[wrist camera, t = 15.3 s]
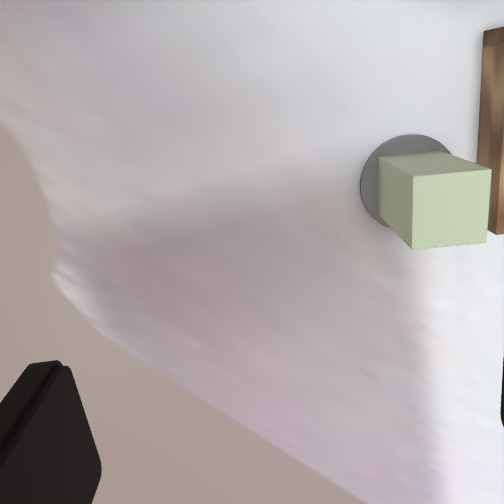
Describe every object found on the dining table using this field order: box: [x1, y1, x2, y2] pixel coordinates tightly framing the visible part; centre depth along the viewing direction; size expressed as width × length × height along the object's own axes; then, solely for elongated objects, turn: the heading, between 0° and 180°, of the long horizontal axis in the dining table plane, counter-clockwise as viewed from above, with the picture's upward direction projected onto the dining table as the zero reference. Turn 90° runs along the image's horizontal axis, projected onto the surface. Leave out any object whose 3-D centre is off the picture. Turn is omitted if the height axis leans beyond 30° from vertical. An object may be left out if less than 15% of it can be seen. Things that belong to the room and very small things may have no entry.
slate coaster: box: [360, 134, 451, 228], centre depth 40 cm, size 8×8×1 cm
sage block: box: [379, 151, 492, 250], centre depth 36 cm, size 5×5×9 cm
